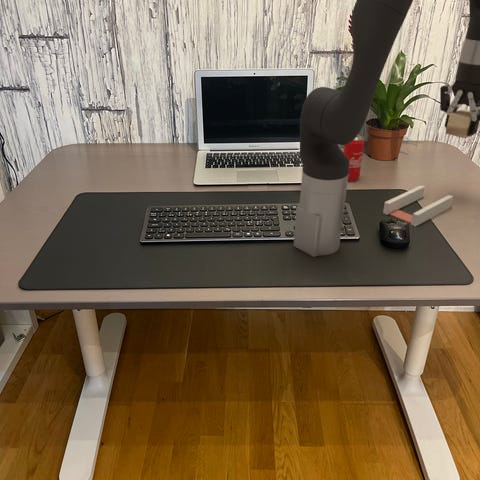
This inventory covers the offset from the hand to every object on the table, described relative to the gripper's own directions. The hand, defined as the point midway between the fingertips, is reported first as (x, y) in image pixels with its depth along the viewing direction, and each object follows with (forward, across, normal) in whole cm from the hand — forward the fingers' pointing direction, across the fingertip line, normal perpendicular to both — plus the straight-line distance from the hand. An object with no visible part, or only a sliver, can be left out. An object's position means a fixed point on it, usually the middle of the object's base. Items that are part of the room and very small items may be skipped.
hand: (459, 132), depth 121 cm
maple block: (0, 0, +1) cm, 1 cm away
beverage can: (+18, -24, -10) cm, 31 cm away
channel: (+17, 0, -13) cm, 22 cm away
